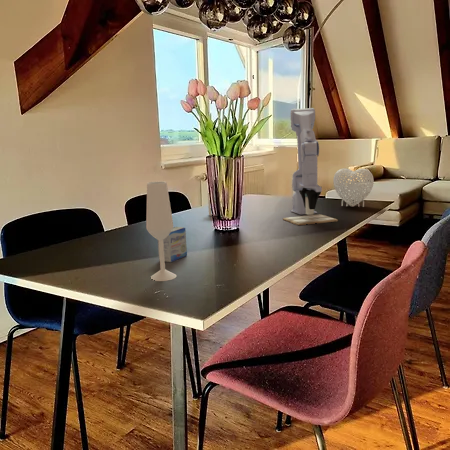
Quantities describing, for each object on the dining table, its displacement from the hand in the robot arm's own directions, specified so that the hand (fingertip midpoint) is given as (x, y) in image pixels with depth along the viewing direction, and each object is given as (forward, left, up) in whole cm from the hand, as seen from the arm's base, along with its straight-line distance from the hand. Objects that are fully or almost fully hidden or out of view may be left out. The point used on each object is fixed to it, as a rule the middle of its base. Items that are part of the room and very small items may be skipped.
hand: (309, 208), depth 176 cm
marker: (0, 0, -2) cm, 2 cm away
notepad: (0, 0, -5) cm, 5 cm away
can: (-31, -29, -5) cm, 42 cm away
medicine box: (+29, -61, -5) cm, 68 cm away
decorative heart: (-19, +32, -5) cm, 37 cm away
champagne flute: (+45, -67, -5) cm, 81 cm away
